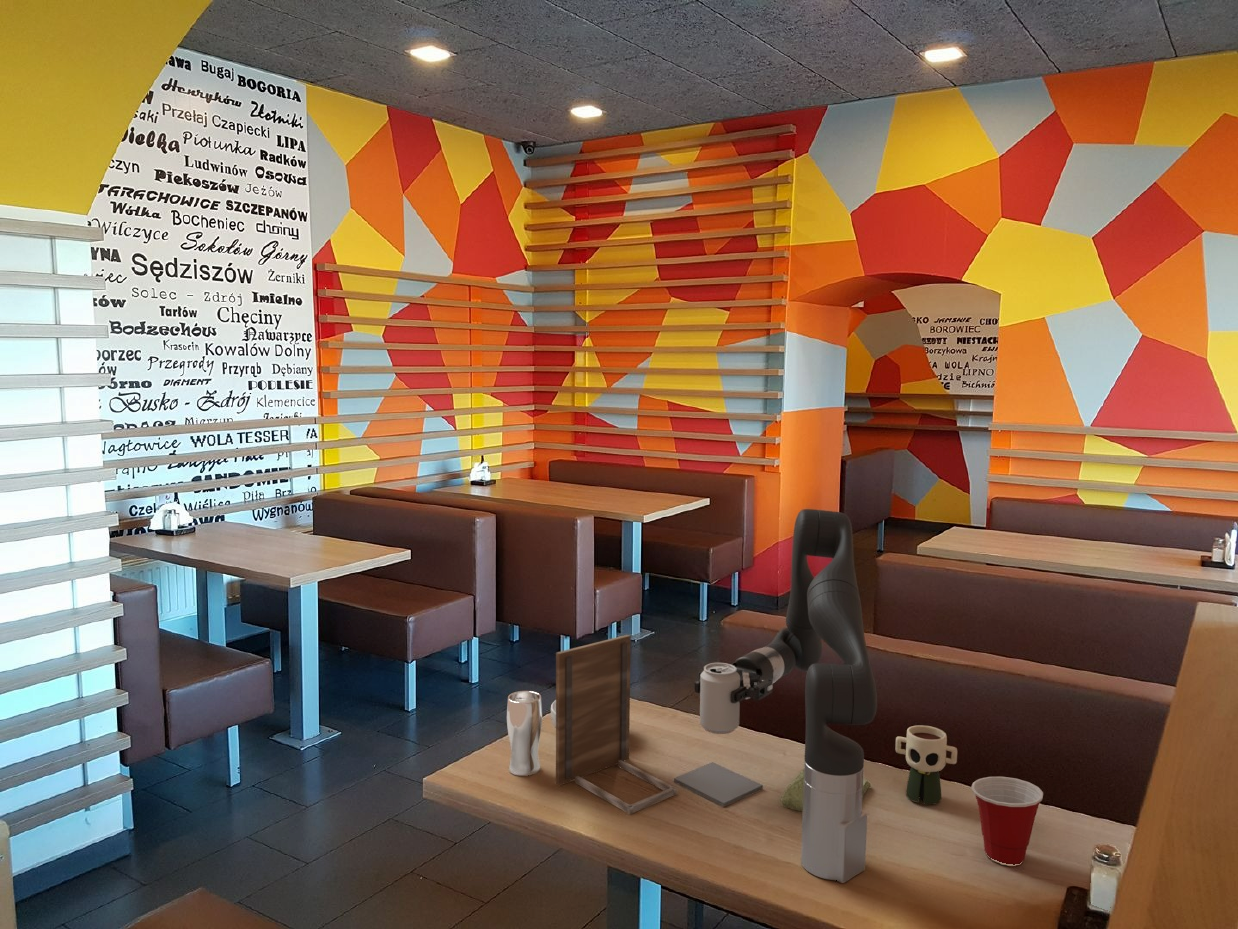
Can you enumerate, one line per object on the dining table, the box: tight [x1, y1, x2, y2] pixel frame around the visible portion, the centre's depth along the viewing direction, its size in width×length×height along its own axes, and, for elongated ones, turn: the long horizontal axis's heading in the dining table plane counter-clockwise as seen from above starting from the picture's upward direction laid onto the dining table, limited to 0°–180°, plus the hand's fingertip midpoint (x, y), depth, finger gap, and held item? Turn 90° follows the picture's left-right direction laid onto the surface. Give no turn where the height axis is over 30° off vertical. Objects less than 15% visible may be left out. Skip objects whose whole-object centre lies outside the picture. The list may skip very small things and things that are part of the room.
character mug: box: [895, 725, 958, 805], centre depth 165 cm, size 11×7×13 cm, turn 63°
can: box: [699, 662, 741, 735], centre depth 169 cm, size 8×8×12 cm
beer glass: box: [506, 690, 543, 777], centre depth 176 cm, size 7×7×15 cm
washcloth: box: [780, 768, 872, 813], centre depth 166 cm, size 13×18×3 cm
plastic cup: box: [970, 776, 1044, 865], centre depth 146 cm, size 11×11×12 cm
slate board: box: [673, 761, 764, 808], centre depth 171 cm, size 13×11×1 cm
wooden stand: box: [555, 634, 678, 815], centre depth 168 cm, size 18×18×26 cm
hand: (714, 693), depth 167 cm, fingers closed on can, 7 cm apart
